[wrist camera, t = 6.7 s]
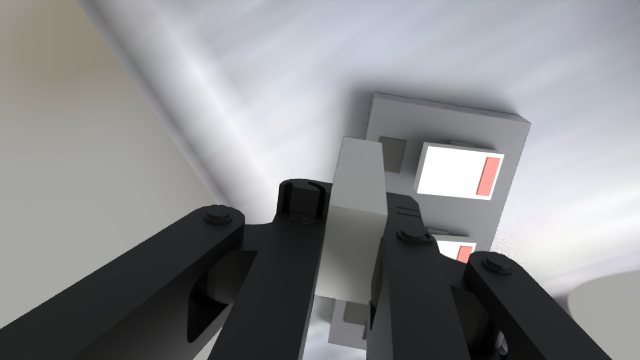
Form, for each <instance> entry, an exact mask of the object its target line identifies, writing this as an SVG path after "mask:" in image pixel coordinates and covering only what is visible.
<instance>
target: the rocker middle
mask: <svg viewBox="0 0 640 360" xmlns="http://www.w3.org/2000/svg"><path fill="white" fill-rule="evenodd" d="M431 235H432V236H434V238H435V239H436V241H437V243H438V246H439V250H440V253H442V254H443V255H445V256H448V257H450V258H453V259H455V260H458V261H461V262H464V263H467V261H468V258H469V255H470V254H471V253H473V252H474V249H475V246H476V242H475V241H474V240H473V239H472V238H471V237H463V236H448V235H434V234H431Z"/></svg>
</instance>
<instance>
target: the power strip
mask: <svg viewBox="0 0 640 360" xmlns="http://www.w3.org/2000/svg"><path fill="white" fill-rule="evenodd" d="M530 126H531V123H530V122H529V121H527V120H526V119H524V118H523V117H521V116H519V115H513V114H507V113H500V112H494V111H488V110H482V109H476V108H470V107H463V106H457V105H451V104H445V103H439V102H432V101H426V100H420V99H414V98H408V97H401V96H395V95H389V94H383V93H377V92H374V93H373V99H372V104H371V109H370V115H369V120H368V125H367V131H366V136H365V140H368V141H374V142H380V143H382V151H383V163H384V175H385V187H386V192H391V193H397V194H402V195H408V196H411V197H412V198H413V199H414V200H415V201H416V202H417V203H418V204H419V208H420V212H421V216H422V217H421V218H422V220H423V224H424V228H425V231H426V232H428V233H430V234H434V235H448V236H463V237H471V238H472V239H473V240H474V241H475V242H476V246H475V249H474V252H475V251H488V252H489V251H490V248H491V245H492V242H493V239H494V236H495V233H496V230H497V227H498V224H499V221H500V218H501V215H502V212H503V209H504V205H505V202H506V199H507V196H508V193H509V190H510V187H511V184H512V181H513V178H514V175H515V172H516V169H517V166H518V163H519V160H520V157H521V154H522V151H523V147H524V144H525V141H526V138H527V135H528V132H529V129H530ZM424 142H428V143H437V144H446V145H455V146H464V147H473V148H482V149H491V150H498V151H500V152H501V153H503V154H504V157H503V161H502V164H501V167H500V170H499V173H498V177H497V180H496V183H495V186H494V189H493V193H492V196H491V199H490V200H485V199H474V198H463V197H453V196H442V195H431V194H421V193H417V192H416V191H415V190H414V188H413V186H414V182H415V178H416V173H417V169H418V165H419V161H420V157H421V152H422V148H423V144H424ZM370 301H371V293H370V298H369V302H368V305H366V304H361V303H355V302H350V301H345V300H339V299H335V303H334V308H333V313H332V319H331V324H330V331H329V339H328V343H332V344H337V345H342V346H347V347H353V348H358V349H363V350H367V339H366V340H363V339H362V337H363V332H364V328H365V323H366V319H367V314H368V310H369V305H370Z"/></svg>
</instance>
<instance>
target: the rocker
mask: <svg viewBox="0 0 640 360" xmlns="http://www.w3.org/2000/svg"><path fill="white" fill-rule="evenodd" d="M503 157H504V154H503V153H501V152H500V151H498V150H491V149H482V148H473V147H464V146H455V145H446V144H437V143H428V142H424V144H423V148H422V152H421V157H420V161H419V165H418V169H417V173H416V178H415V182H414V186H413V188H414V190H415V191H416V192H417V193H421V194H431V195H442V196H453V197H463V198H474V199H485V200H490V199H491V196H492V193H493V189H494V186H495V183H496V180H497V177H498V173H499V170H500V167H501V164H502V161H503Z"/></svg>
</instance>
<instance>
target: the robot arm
mask: <svg viewBox="0 0 640 360" xmlns="http://www.w3.org/2000/svg"><path fill="white" fill-rule="evenodd" d="M421 217H422V216H421V212H420V208H419V204H418V203H417V202H416V201H415V200H414V199H413V198H412V197H411V196H408V195H402V194H397V193H391V192H386V187H385V175H384V163H383V151H382V143H380V142H374V141H368V140H362V139H356V138H350V137H343V142H342V146H341V151H340V155H339V159H338V164H337V168H336V173H335V177H334V181H333V184H332V183H326V182H320V181H315V180H309V179H289V180H285V181H283V182H282V183H281V184H280V185H279V194H278V202H277V211H276V215H275V217H274V219H273V221H272V222H271V223H267V224H256V225H251V224H245V217H244V215H243V214H242V213H241V212H240V211H239V210H237V209H234V208H232V207H227V206H225V205H219V206H218V205H211V206H205V207H201V208H199V209H196V210H194V211H193V212H191V213H189V214H188V215H187V216H184V217H183V218H181V219H180V220H178V221H176V222H175V223H173V224H171V225H170V226H168V227H166V228H165V229H163V230H161V231H160V232H158V233H157V234H155V235H153V236H152V237H150V238H148V239H147V240H145V241H144V242H142V243H140V244H139V245H137V246H135V247H134V248H132V249H131V250H129V251H127V252H126V253H124V254H122V255H121V256H119V257H117V258H116V259H114V260H112V261H111V262H109V263H108V264H106V265H104V266H103V267H101V268H99V269H98V270H96V271H94V272H93V273H91V274H90V275H88V276H86V277H85V278H83V279H81V280H80V281H78V282H76V283H75V284H73V285H72V286H70V287H68V288H67V289H65V290H63V291H62V292H60V293H59V294H57V295H55V296H54V297H52V298H50V299H49V300H47V301H45V302H44V303H42V304H41V305H39V306H38V307H36V308H34V309H32V310H31V311H29V312H28V313H26V314H24V315H23V316H21V317H19V318H18V319H16V320H14V321H13V322H11V323H9V324H8V325H6V326H5V327H3V328H1V329H0V360H193V359H194V358H195V356H196V355H197V354H198V353H199V352H200V351H201V350H202V349H203V347H204V346H205V345H206V344H207V343H208V342H209V341H210V340H211V339H212V337H213V336H214V335H215V334H216V333H217V332H218V331H219V330H220V328H221V327H222V326H223V327H222V330H221V332H220V334H219V336H218V338H217V340H216V342H215V344H214V346H213V349H212V351H211V353H210V355H209V357H208V359H207V360H302V358H303V353H304V347H305V342H306V337H307V332H308V327H309V322H310V317H311V312H312V307H313V301H314V295H318V296H323V297H329V298H334V299H339V300H345V301H350V302H355V303H361V304H366V305H368V302H369V298H370V293H371V301H370V305H369V310H368V314H367V319H366V323H365V328H364V332H363V337H362V339H363V340H366V339H367V350H366V360H612V359H611V358H610V357H609V356H608V355H607V354H606V353H605V352H604V351H603V350H602V349H601V348H600V347H599V346H598V345H597V344H596V343H595V342H594V341H593V340H592V339H591V337H589V336H588V334H587V333H586V332H585V331H584V330H583V329H582V328H581V327H580V326H579V325H578V324H577V323H576V322H575V321H574V320H573V319H572V318H571V317H570V316H569V315H568V314H567V313H566V312H565V311H564V310H563V309H562V308H561V307H560V306H559V305H558V304H557V302H556V301H555V300H554V299H553V298H552V297H551V296H550V295H549V294H548V293H547V292H546V291H545V290H544V289H543V288H542V287H541V286H540V285H539V284H538V283H537V282H536V281H535V280H534V279H533V278H532V277H531V276H530V275H529V274H528V273H527V272H526V271H525V270H524V269H523V268H522V267H521V266H520V265H519V264H518V263H516V262H515V261H513V260H511V259H509V258H508V257H507V256H505V255H503V254H498V253H497V252H488V251H475V252H473V253H471V254H470V255H469V258H468V261H467V263H464V262H461V261H458V260H455V259H453V258H450V257H448V256H445V255H443V254H442V253H440V250H439V246H438V243H437V241H436V239H435V238H434V236H432V235H431V234H430V233H428V232H426V231H425V228H424V224H423V220H422V218H421ZM504 337H505V339H506V343H507V349H508V353H507V352H506V351H505V350H504V348H503V347H502V345H501V343H502V340H503V338H504Z"/></svg>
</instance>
